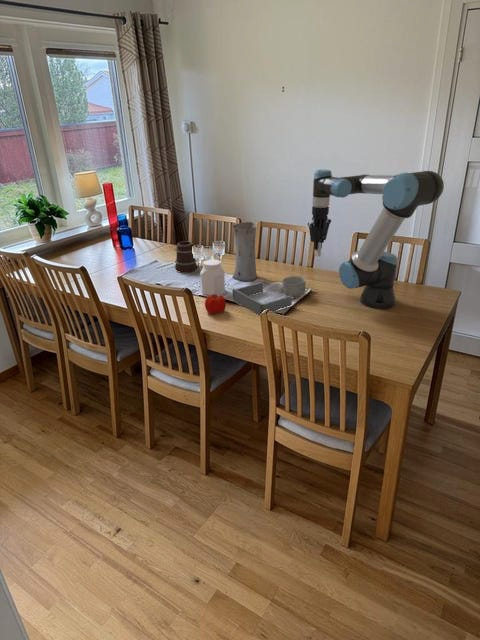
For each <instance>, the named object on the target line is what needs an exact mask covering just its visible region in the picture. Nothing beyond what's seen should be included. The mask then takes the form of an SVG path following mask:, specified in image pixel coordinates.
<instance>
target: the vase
mask: <svg viewBox="0 0 480 640" xmlns="http://www.w3.org/2000/svg"><path fill="white" fill-rule="evenodd" d="M232 229H233V235H234V242H235V243H234V244H235V267H234V271H233V274H232V279H234V280H237V281H241V282H252V281H255V280H257V279H258V273H257V267H256V266H257V265H256V264H257V263H256V235H257V234H256V233H257V226H256V225H255V223H253V222H251V221H246V222H239V223H236V224H234V225H232Z"/></svg>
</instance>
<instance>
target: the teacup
mask: <svg viewBox="0 0 480 640" xmlns="http://www.w3.org/2000/svg"><path fill="white" fill-rule="evenodd" d="M281 282H282V291H283V294H284V295H285V296H286V297H287V296H290V295H291V296H292V297H293V298H292V299H297V298H296V297H298V298H300V297H302V296H303V295H304V294H305V292H306V278H304V277H302V276H299V275H296V276H295V275H293V274H291V275H290V276H286V277H284V278H283V279H282V280H281Z"/></svg>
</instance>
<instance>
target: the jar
mask: <svg viewBox="0 0 480 640" xmlns="http://www.w3.org/2000/svg"><path fill="white" fill-rule="evenodd" d="M202 264H203V268H202V269H201V271H200V272H199V273H200V274H199V275H200V283H201V284H200V285H201V286H200V287H201V294H202V295H208V296H211V295H212V294H216V295H222V296H223V295H224V294H225V293H226V285H225V282H226V279H225V270H224V269H223V267H222V263H221V261H220V260H218V259H206V260H205V261H203V263H202ZM223 293H224V294H223Z"/></svg>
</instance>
